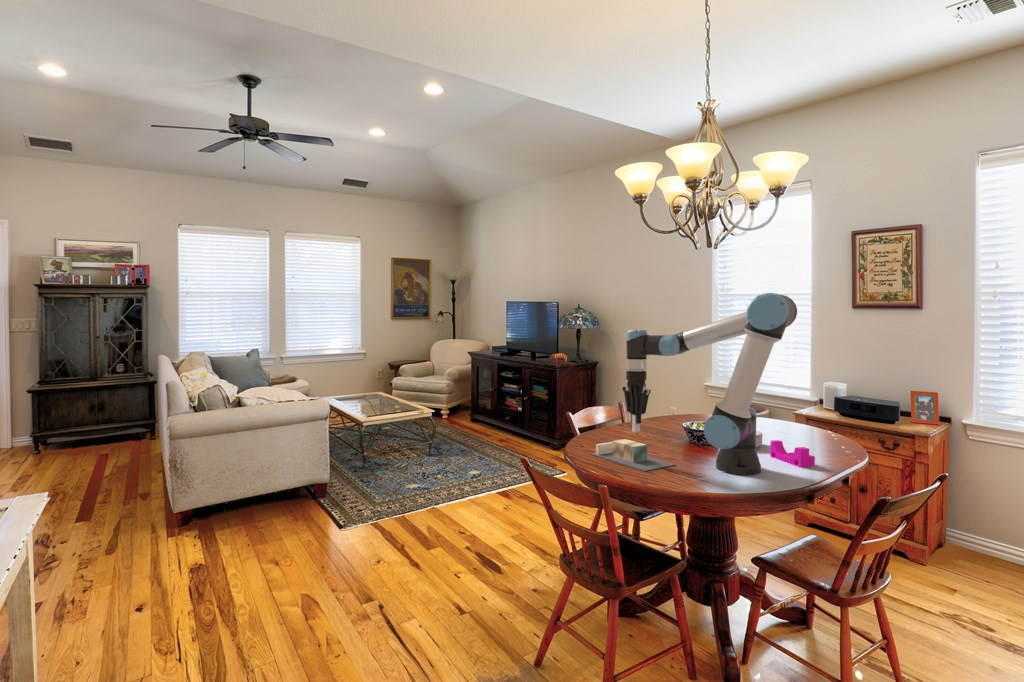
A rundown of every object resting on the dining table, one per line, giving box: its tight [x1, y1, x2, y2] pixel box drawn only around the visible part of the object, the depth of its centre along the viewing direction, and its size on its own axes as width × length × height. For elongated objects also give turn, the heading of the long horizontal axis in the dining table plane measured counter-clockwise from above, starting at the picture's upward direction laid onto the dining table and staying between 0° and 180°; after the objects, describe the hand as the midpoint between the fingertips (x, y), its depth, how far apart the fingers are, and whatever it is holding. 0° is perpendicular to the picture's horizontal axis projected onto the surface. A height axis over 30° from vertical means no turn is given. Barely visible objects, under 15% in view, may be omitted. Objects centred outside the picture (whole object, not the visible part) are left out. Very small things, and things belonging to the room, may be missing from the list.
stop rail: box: [595, 441, 612, 455], centre depth 215 cm, size 1×14×4 cm, turn 121°
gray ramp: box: [589, 452, 677, 472], centre depth 205 cm, size 30×16×1 cm, turn 31°
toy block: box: [769, 439, 816, 468], centre depth 199 cm, size 15×6×8 cm, turn 15°
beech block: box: [611, 438, 648, 463], centre depth 206 cm, size 6×7×12 cm
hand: (636, 431), depth 203 cm, fingers closed
